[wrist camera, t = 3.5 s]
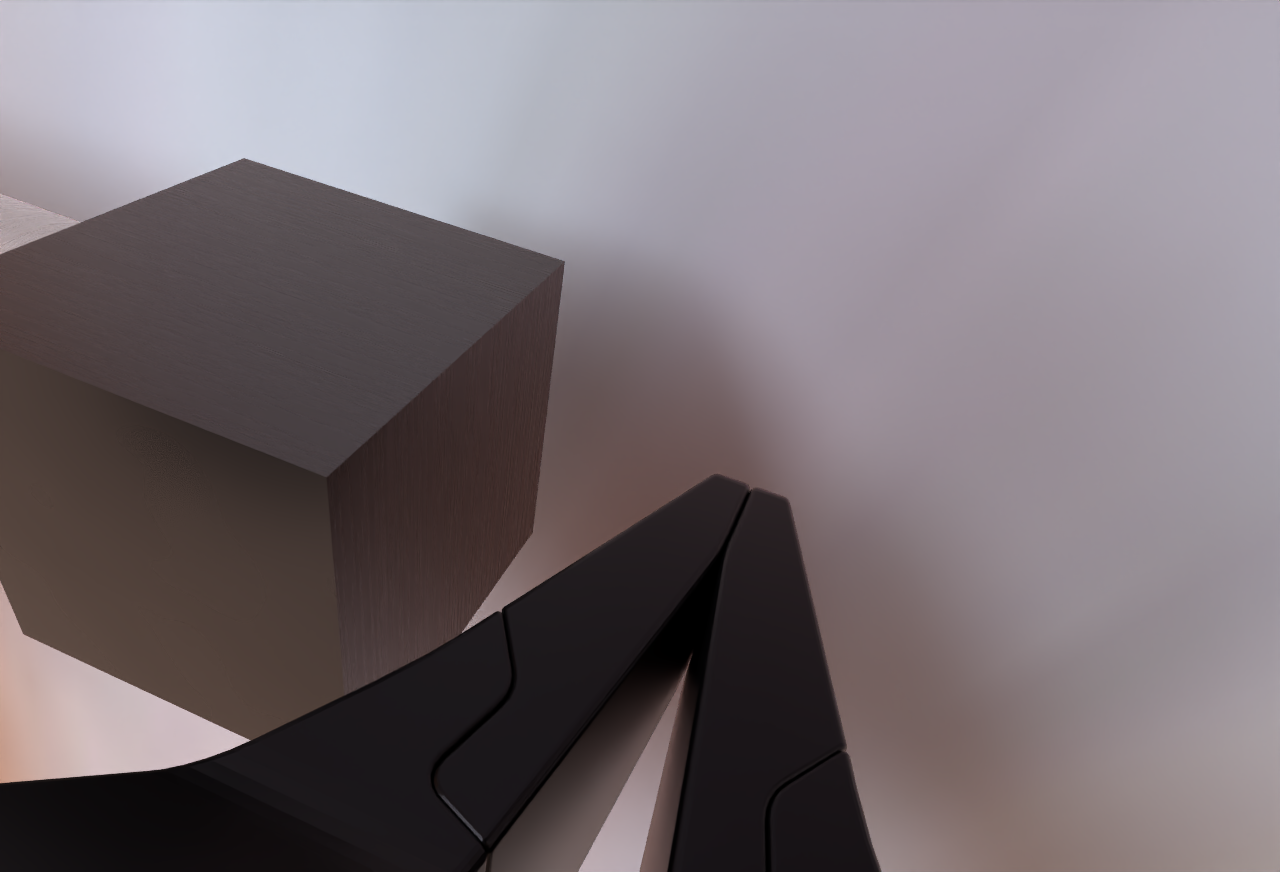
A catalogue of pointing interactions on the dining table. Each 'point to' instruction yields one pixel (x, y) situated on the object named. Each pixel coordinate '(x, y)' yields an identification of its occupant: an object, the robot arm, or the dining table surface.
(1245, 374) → the dining table surface
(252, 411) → the shaft
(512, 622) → the robot arm
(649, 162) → the dining table surface
